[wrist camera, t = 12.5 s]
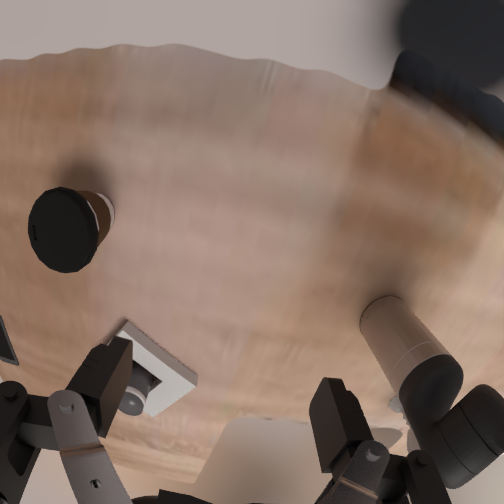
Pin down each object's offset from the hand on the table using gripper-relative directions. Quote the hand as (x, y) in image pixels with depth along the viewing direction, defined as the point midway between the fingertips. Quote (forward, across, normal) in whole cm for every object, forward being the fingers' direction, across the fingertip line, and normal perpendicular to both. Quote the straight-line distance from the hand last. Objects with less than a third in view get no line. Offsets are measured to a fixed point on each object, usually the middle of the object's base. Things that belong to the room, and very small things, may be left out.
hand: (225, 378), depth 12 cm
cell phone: (+34, +49, +39) cm, 71 cm away
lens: (+33, +11, +32) cm, 47 cm away
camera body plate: (+33, +12, +32) cm, 47 cm away
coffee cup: (+33, +22, +4) cm, 40 cm away
